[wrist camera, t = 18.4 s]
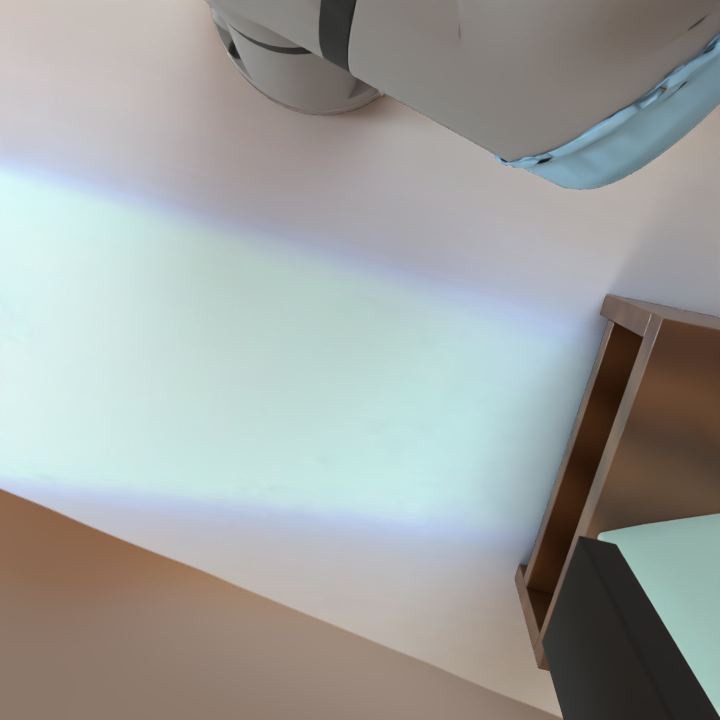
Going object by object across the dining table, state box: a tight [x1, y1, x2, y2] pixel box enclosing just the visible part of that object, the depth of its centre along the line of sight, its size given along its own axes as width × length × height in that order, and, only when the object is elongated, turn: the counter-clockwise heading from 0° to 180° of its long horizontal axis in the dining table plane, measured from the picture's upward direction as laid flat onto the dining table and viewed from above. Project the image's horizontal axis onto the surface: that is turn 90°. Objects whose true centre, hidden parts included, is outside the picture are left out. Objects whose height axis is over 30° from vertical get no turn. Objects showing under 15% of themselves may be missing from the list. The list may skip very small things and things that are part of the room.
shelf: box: [515, 294, 720, 671], centre depth 40 cm, size 26×10×10 cm, turn 169°
